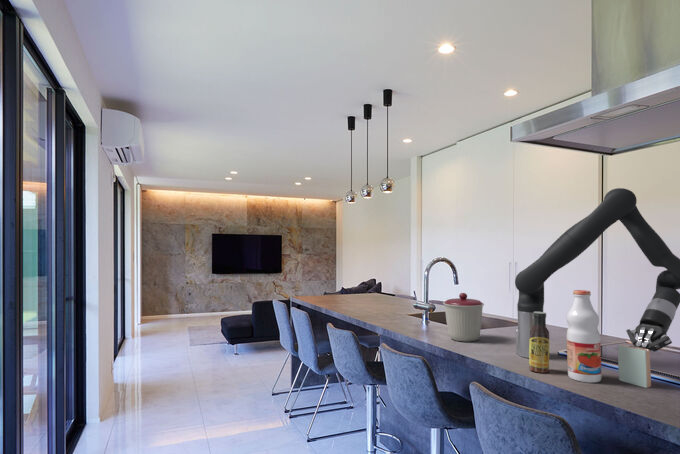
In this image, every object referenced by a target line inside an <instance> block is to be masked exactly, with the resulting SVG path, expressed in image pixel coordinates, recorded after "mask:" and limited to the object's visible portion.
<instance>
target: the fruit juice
mask: <svg viewBox="0 0 680 454" xmlns="http://www.w3.org/2000/svg"><path fill="white" fill-rule="evenodd" d="M572 295H573V297H574V299H573V302H572V304H571V307H570V309H569V310H568V311H567V313H566V323H567V325H568V328H567V330H566V356H567V357H566V358H567V361H566V362H567V375H568V378H569V379H572V380H574V381H576V382H577V381H579V382H583V383H590V384H591V383H592V384H593V383H595V384H596V383H599V382H601V380H602V354H601V349H602V348H601V334H600V331H599V328H598V327H599V324H600V317H599V314H598V313H597V312H596V311H595V309H594V307H593V304H592V302H591V298H590V297H591V295H592V294H591V291H590V290H585V289H573V290H572Z"/></svg>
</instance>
